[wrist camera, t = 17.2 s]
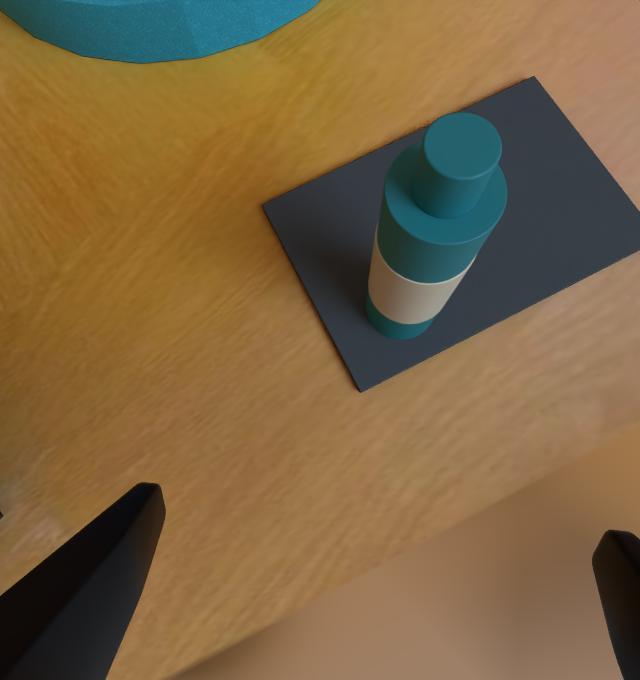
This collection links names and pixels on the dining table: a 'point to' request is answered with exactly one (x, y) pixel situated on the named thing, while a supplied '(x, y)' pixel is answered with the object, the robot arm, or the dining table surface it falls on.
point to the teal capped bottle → (433, 221)
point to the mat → (493, 257)
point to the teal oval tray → (151, 25)
